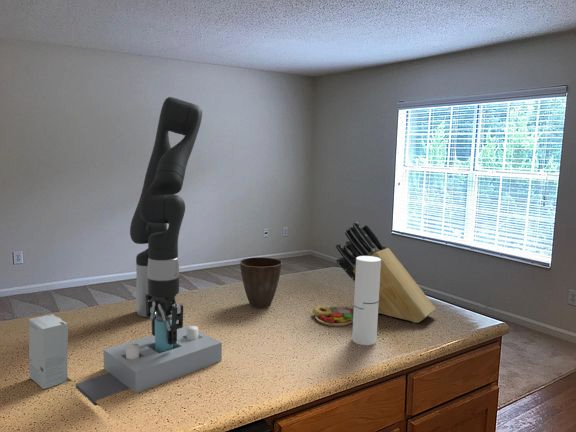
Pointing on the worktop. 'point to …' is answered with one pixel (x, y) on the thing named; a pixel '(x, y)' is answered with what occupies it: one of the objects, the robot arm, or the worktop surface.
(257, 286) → the plant pot
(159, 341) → the cartridge
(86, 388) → the mat
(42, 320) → the skincare box
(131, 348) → the white rounded cylinder
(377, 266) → the cylindrical container
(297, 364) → the worktop surface
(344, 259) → the knife block
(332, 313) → the toy food set
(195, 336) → the plunger inner
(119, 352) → the housing
